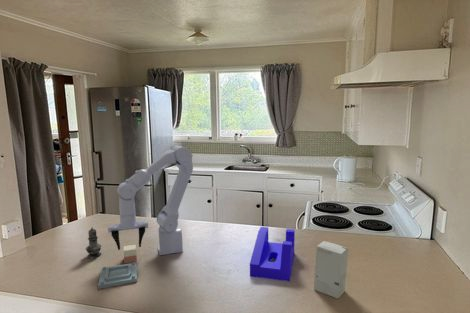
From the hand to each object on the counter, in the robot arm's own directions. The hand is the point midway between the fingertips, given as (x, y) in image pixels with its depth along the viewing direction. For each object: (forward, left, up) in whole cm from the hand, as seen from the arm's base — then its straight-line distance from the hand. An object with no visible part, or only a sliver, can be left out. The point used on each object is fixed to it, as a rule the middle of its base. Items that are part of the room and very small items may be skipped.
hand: (129, 247), depth 119 cm
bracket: (-51, +23, -6) cm, 56 cm away
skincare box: (-60, +45, -5) cm, 75 cm away
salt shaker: (+14, -9, -5) cm, 17 cm away
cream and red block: (0, 0, -5) cm, 5 cm away
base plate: (+4, +12, -5) cm, 14 cm away
